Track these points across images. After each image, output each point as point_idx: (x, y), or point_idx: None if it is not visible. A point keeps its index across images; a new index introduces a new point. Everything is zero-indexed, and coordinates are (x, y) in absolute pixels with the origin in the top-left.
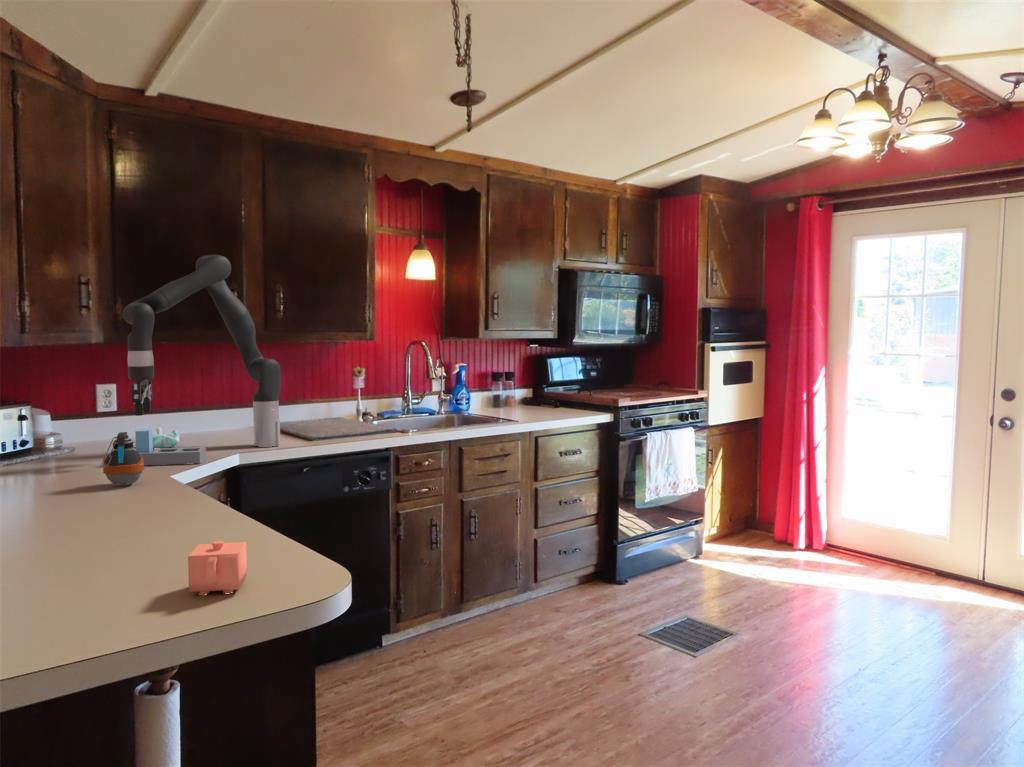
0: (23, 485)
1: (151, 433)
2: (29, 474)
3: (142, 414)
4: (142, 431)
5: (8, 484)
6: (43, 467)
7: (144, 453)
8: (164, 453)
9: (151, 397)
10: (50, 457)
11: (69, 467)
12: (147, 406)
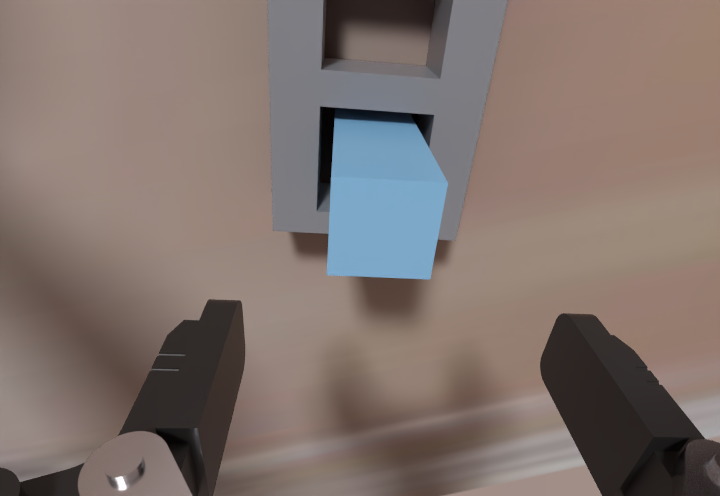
0: None
1: (353, 164)
2: (475, 456)
3: (594, 316)
4: (437, 229)
5: None
6: (350, 457)
7: (469, 147)
8: (505, 8)
9: (22, 492)
10: None
11: (378, 397)
12: (222, 380)
